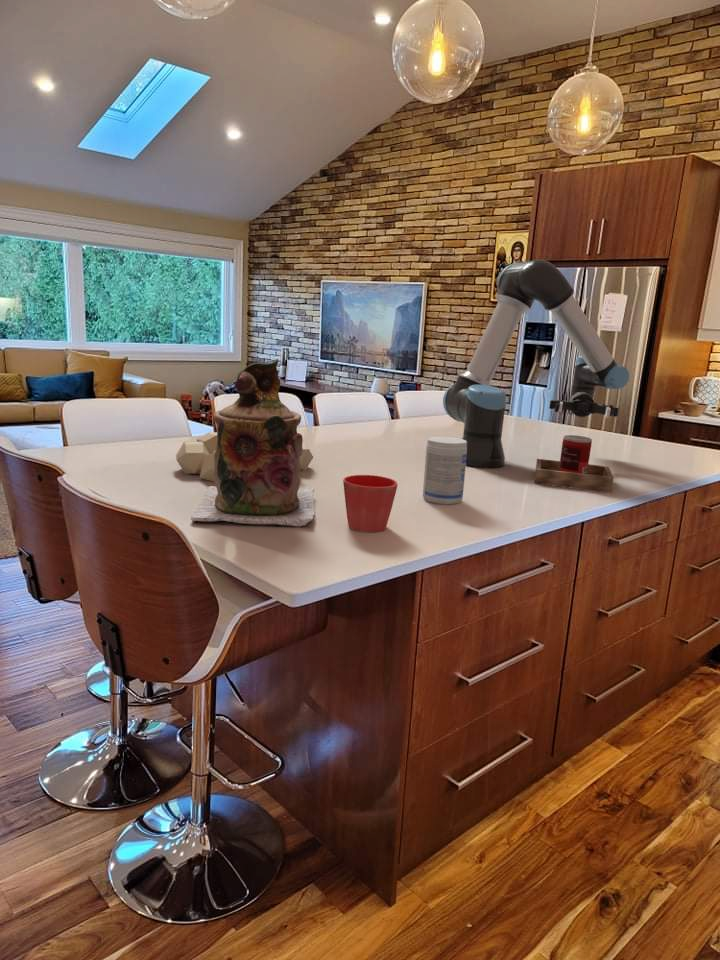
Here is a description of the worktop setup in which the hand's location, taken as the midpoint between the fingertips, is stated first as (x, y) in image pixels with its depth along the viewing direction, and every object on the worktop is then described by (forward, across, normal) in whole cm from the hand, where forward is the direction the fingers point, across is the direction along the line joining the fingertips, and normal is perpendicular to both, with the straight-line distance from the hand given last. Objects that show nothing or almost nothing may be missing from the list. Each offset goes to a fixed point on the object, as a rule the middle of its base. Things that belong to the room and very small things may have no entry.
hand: (584, 410), depth 192 cm
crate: (+15, +1, -19) cm, 24 cm away
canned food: (+15, +1, -17) cm, 23 cm away
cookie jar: (+81, +67, -22) cm, 107 cm away
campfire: (+49, +85, -22) cm, 101 cm away
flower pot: (+82, +42, -21) cm, 94 cm away
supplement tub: (+54, +31, -20) cm, 65 cm away
